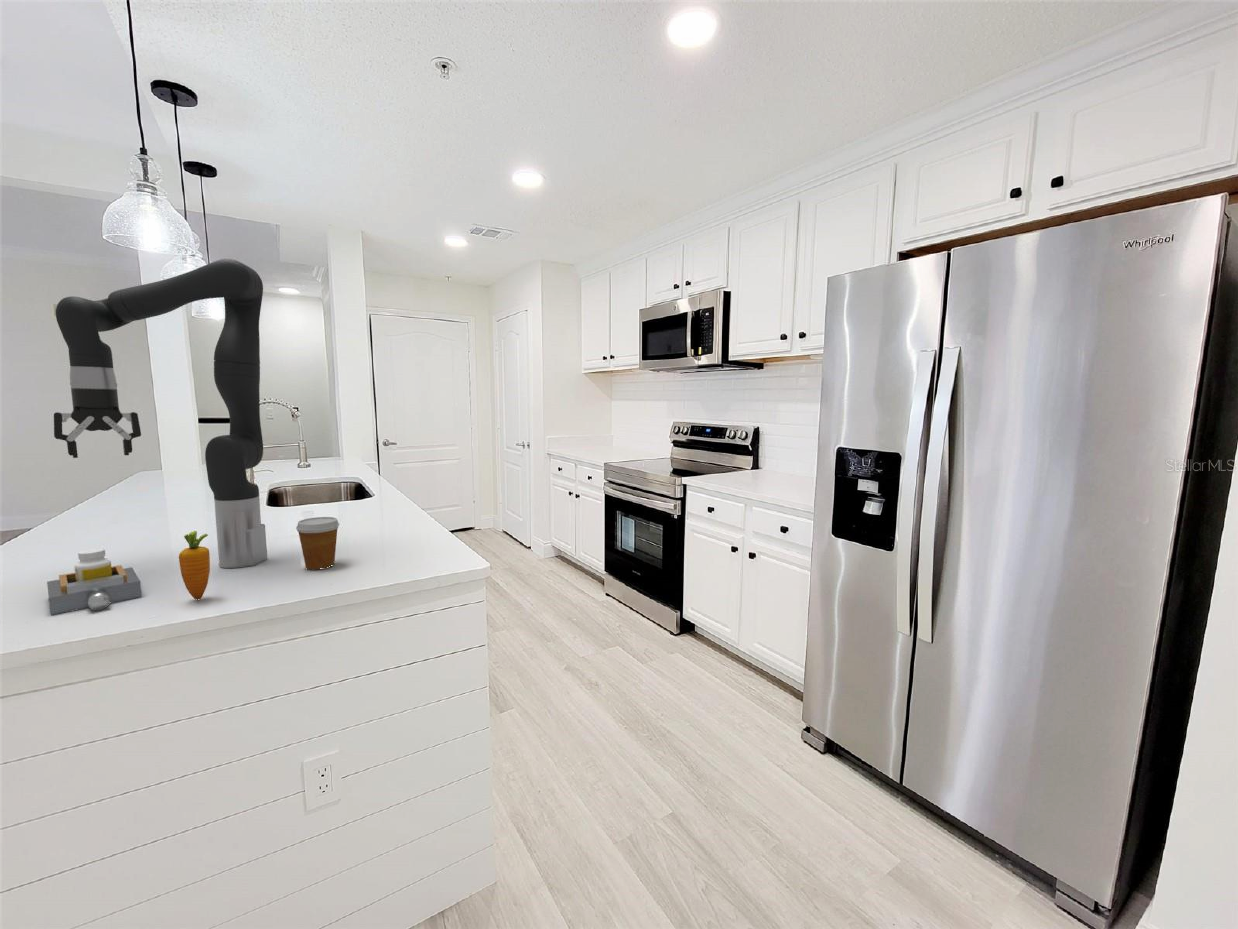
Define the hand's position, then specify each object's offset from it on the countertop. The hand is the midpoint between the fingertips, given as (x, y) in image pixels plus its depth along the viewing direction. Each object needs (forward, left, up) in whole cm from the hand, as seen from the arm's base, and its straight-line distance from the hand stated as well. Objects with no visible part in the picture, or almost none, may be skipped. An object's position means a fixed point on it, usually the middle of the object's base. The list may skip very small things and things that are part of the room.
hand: (101, 456), depth 120 cm
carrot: (-33, +19, -28) cm, 47 cm away
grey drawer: (-12, +18, -28) cm, 36 cm away
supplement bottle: (-10, +16, -28) cm, 34 cm away
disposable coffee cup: (-47, -3, -28) cm, 55 cm away
